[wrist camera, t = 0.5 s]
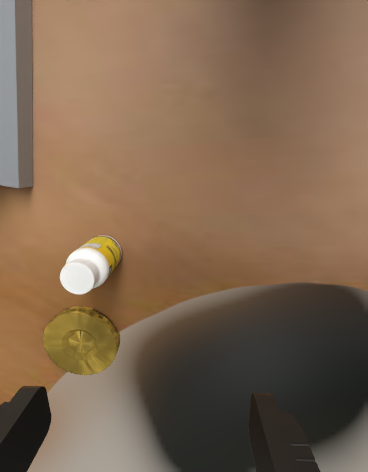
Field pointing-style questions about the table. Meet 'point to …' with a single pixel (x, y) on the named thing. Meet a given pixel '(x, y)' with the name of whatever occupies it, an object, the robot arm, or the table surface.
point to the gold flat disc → (81, 341)
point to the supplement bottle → (90, 264)
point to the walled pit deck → (16, 94)
